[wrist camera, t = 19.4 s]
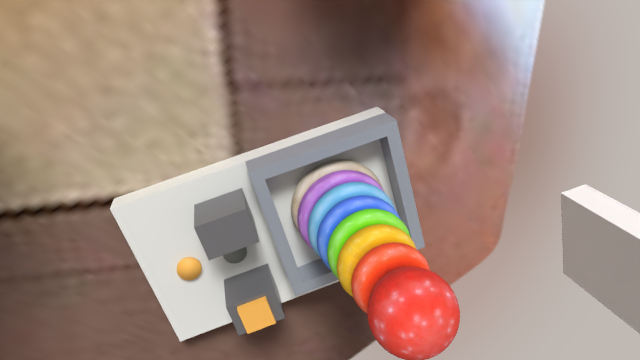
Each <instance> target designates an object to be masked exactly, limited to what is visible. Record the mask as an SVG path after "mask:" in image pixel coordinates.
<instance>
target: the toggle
mask: <svg viewBox="0 0 640 360" xmlns="http://www.w3.org/2000/svg"><path fill="white" fill-rule="evenodd" d="M194 229H195V231H196V233H197V235H198V238H199V240H200V242H201V244H202V246H203V249H204V251H205V253H206V255H207V257H208V260H212V259H214V258H217V257H220V256H223V255H225V254H228V253H231V252H233V251H236V250H239V249H242V248H244V247H247V246H250V245H253V244H255V243H258V242H259V238H258V234H257V229H256V225H255V221H254V217H253V215H252V212H251V210H250V207H249V205H248V202H247V200H246V197H245V194H244V192H243V189H242V188H240V189H237V190H235V191H232V192H229V193H226V194H223V195H221V196H218V197H215V198H212V199H209V200H207V201H204V202H201V203H198V204H195V205H194Z"/></svg>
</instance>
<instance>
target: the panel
mask: <svg viewBox="0 0 640 360" xmlns="http://www.w3.org/2000/svg"><path fill="white" fill-rule="evenodd" d="M382 113H385V112H384V111H383V110H382V109H380V108H379V107H375V108H372V109H369V110H366V111H363V112H360V113H358V114H355V115H352V116H349V117H346V118H343V119H340V120H338V121H335V122H332V123H329V124H326V125H323V126H320V127H317V128H315V129H312V130H309V131H306V132H303V133H300V134H297V135H295V136H292V137H289V138H286V139H283V140H280V141H277V142H275V143H272V144H269V145H266V146H263V147H260V148H257V149H254V150H252V151H249V152H246V153H243V154H240V155H237V156H234V157H232V158H229V159H226V160H223V161H220V162H217V163H214V164H212V165H209V166H206V167H203V168H200V169H197V170H194V171H192V172H189V173H186V174H183V175H180V176H177V177H174V178H171V179H169V180H166V181H163V182H160V183H157V184H154V185H151V186H149V187H146V188H143V189H140V190H137V191H134V192H131V193H129V194H126V195H123V196H120V197H117V198H114V200H113V203H112V205H111V208H110V210H111V212H112V214H113V215H114V217H115V219H116V221H117V223H118V225H119V227H120V229H121V231H122V232H123V234H124V236H125V238H126V240H127V242H128V244H129V246H130V248H131V249H132V251H133V253H134V255H135V257H136V259H137V261H138V263H139V265H140V266H141V268H142V270H143V272H144V274H145V276H146V278H147V280H148V282H149V283H150V285H151V287H152V289H153V291H154V293H155V295H156V297H157V299H158V300H159V302H160V304H161V306H162V308H163V310H164V312H165V314H166V316H167V317H168V319H169V321H170V323H171V325H172V327H173V329H174V331H175V333H176V334H177V336H178V338H179V340H180V342H181V341H183V340H186V339H189V338H191V337H194V336H196V335H199V334H202V333H204V332H207V331H210V330H212V329H215V328H217V327H220V326H223V325H225V324H228V323H231V322H232V319H231V317H230V315H229V313H228V311H227V309H226V301H225V289H224V280H225V279H227V278H230V277H233V276H235V275H238V274H241V273H243V272H246V271H249V270H251V269H254V268H257V267H260V266H262V265H265V264H268V265H269V268H270V270H271V273H272V276H273V278H274V281H275V283H276V286H277V288H278V291H279V295H280V299H281V303H283V302H286V301H288V300H291V299H294V298H296V297H299V296H301V295H304V294H307V293H309V292H312V291H315V290H317V289H320V288H322V287H325V286H328V285H330V284H333V283H336V282H338V281H339V280H336V281H334V282H331V283H328V284H326V285H323V286H321V287H318V288H315V289H313V290H310V291H307V292H305V293H302V294H300V295H297V296H295V295H294V292H293V289H292V287H291V284H290V281H289V279H288V276H287V274H286V271H285V268H284V266H283V263H282V260H281V258H280V255H279V252H278V250H277V247H276V245H275V242H274V239H273V237H272V234H271V231H270V229H269V226H268V223H267V221H266V218H265V216H264V213H263V210H262V208H261V205H260V202H259V200H258V197H257V194H256V192H255V189H254V187H253V184H252V181H251V179H250V176H249V173H248V170H247V166H246V162H245V161H248V160H251V159H254V158H257V157H259V156H262V155H265V154H268V153H271V152H274V151H276V150H279V149H282V148H285V147H288V146H291V145H294V144H296V143H299V142H302V141H305V140H308V139H311V138H314V137H316V136H319V135H322V134H325V133H328V132H331V131H333V130H336V129H339V128H342V127H345V126H348V125H351V124H353V123H356V122H359V121H362V120H365V119H368V118H370V117H373V116H376V115H379V114H382ZM333 160H350V161H355V162H358V163H360V164H362V165H364V166H366V167H367V168H369V169H370V170H371V171H372V172H373V173H374V174H375V175H376V176H377V178H378V179H379V181H380V183H381V185H382V188H383V190H384V192H385V194H386V195H387V196H388V197H389V198H390V199H391V201H392V203H393V205H394V207H395V210H396V212H397V208H396V204H395V200H394V196H393V191H392V187H391V183H390V179H389V175H388V171H387V167H386V163H385V159H384V155H383V151H382V147H381V143H380V139H378V140H375V141H372V142H369V143H367V144H364V145H361V146H358V147H355V148H353V149H350V150H347V151H344V152H341V153H339V154H336V155H333V156H330V157H327V158H324V159H322V160H319V161H316V162H313V163H310V164H308V165H305V166H302V167H299V168H296V169H294V170H291V171H288V172H285V173H282V174H280V175H277V176H274V177H271V178H268V179H265V180H266V182H267V185H268V188H269V191H270V193H271V196H272V199H273V202H274V204H275V207H276V210H277V212H278V215H279V218H280V221H281V223H282V226H283V229H284V232H285V234H286V237H287V240H288V243H289V245H290V248H291V251H292V254H293V256H294V259H295V262H296V264H297V267H299V266H302V265H305V264H307V263H310V262H313V261H315V260H318V259H321V258H320V257H319V256H318V255H317V254H316V252H315V251H314V250H313V249H311V248H310V247H309V246H308V245H307V244H306V242H305V241H304V240H303V238H302V236H301V234H300V233H299V232H298V230H297V229H296V227H295V225H294V223H293V220H292V216H291V201H292V197H293V194H294V191H295V189H296V187H297V185H298V183H299V182H300V180H301V179H302V178H303V177H304V176H305V174H306V173H308V172H309V171H310V170H311V169H313V168H315V167H316V166H318V165H320V164H322V163H325V162H328V161H333ZM240 188H242V189H243V192H244V194H245V197H246V200H247V202H248V205H249V207H250V210H251V212H252V215H253V217H254V221H255V225H256V229H257V234H258V238H259V242H258V243H255V244H253V245H250V246H247V247H244V248H242V249H239V250H236V251H233V252H231V253H228V254H225V255H223V256H220V257H217V258H214V259H212V260H208V257H207V255H206V253H205V251H204V249H203V246H202V244H201V242H200V240H199V238H198V235H197V233H196V231H195V229H194V205H195V204H198V203H201V202H204V201H207V200H209V199H212V198H215V197H218V196H221V195H223V194H226V193H229V192H232V191H235V190H237V189H240ZM397 213H398V212H397Z"/></svg>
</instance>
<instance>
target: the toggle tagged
mask: <svg viewBox="0 0 640 360" xmlns="http://www.w3.org/2000/svg"><path fill="white" fill-rule="evenodd" d="M224 289H225V301H226V309H227V311H228V313H229V315H230V317H231V319H232V322H233V324H234V326H235V328H236V330H237V332H238V335H242V334H244V333H247V334H249V333H252V332H254V331H257V330H260V329H262V328H265V327H267V326H270V325H273V324H275V323H276V321H278V320H281V319H284V318H285V315H284V311H283V307H282V303H281V299H280V295H279V291H278V288H277V286H276V283H275V281H274V278H273V276H272V273H271V270H270V268H269V265H268V264H265V265H262V266H260V267H257V268H254V269H251V270H249V271H246V272H243V273H241V274H238V275H235V276H233V277H230V278H227V279H225V280H224Z"/></svg>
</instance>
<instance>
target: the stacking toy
mask: <svg viewBox="0 0 640 360" xmlns="http://www.w3.org/2000/svg"><path fill="white" fill-rule="evenodd" d="M291 216H292V220H293V223H294V225H295V227H296V229H297V230H298V232H299V233H300V234H301V236H302V238H303V240H304V241H305V242H306V244H307V245H308V246H309V247H310V248H311V249H313V250H314V251H315V252H316V254H317V255H318V256H319V257H320V258H321V259H322V261H323V262H324V264H325V265H326V266H327V267H328V268H329V269H330V270H331V271H332V272H333V274H334V275H335V276H336V277H337V278H338V279H339V281H340V283H341V285H342V287H343V288H344V289H345V291H346V292H347V293H348V294H349V295H351V296H352V297H354V299H355V301H356V303H357V305H358V306H359V307H360V308H361V309H362V310H363V311H364V312H365V313H367V317H368V322H369V326H370V329H371V331H372V333H373V335H374V337H375V339H376V340H377V341H378V342H379V344H380V345H381V346H382V347H383V348H384V349H385V350H386V351H388V352H389V353H391V354H393V355H395V356H397V357H399V358H402V359H405V360H425V359H429V358H431V357H434V356H436V355H438V354H440V353H441V352H442V351H444V350H445V349H446V348H447V347H448V346H449V344H450V343H451V342H452V340H453V339H454V337H455V335H456V333H457V330H458V327H459V321H460V310H459V305H458V301H457V298H456V296H455V294H454V292H453V290H452V289H451V287H450V286H449V285H448V284H447V282H446V281H445V280H443V279H442V278H441V277H440V276H439V275H437V274H436V273H434V272H432V271H430V269H429V265H428V263H427V261H426V259H425V257H424V256H423V255H422V254H421V253H420V252H419V251H418V250H417V249H416V246H415V244H414V242H413V240H412V239H411V237H410V233H409V231H408V229H407V227H406V225H405V224H404V223H403V222H402V221H401V219H400V216H399V215H398V213H397V212H396V210H395V207H394V205H393V203H392V201H391V199H390V198H389V197H388V196H387V195H386V194H385V192H384V190H383V188H382V185H381V183H380V181H379V179H378V178H377V176H376V175H375V174H374V173H373V172H372V171H371V170H370V169H369V168H367V167H366V166H364V165H362V164H360V163H358V162H355V161H350V160H333V161H328V162H325V163H322V164H320V165H318V166H316V167H315V168H313V169H311V170H310V171H309V172H308V173H306V174H305V176H304V177H303V178H302V179H301V180H300V182H299V183H298V185H297V187H296V189H295V191H294V194H293V197H292V201H291Z"/></svg>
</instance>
